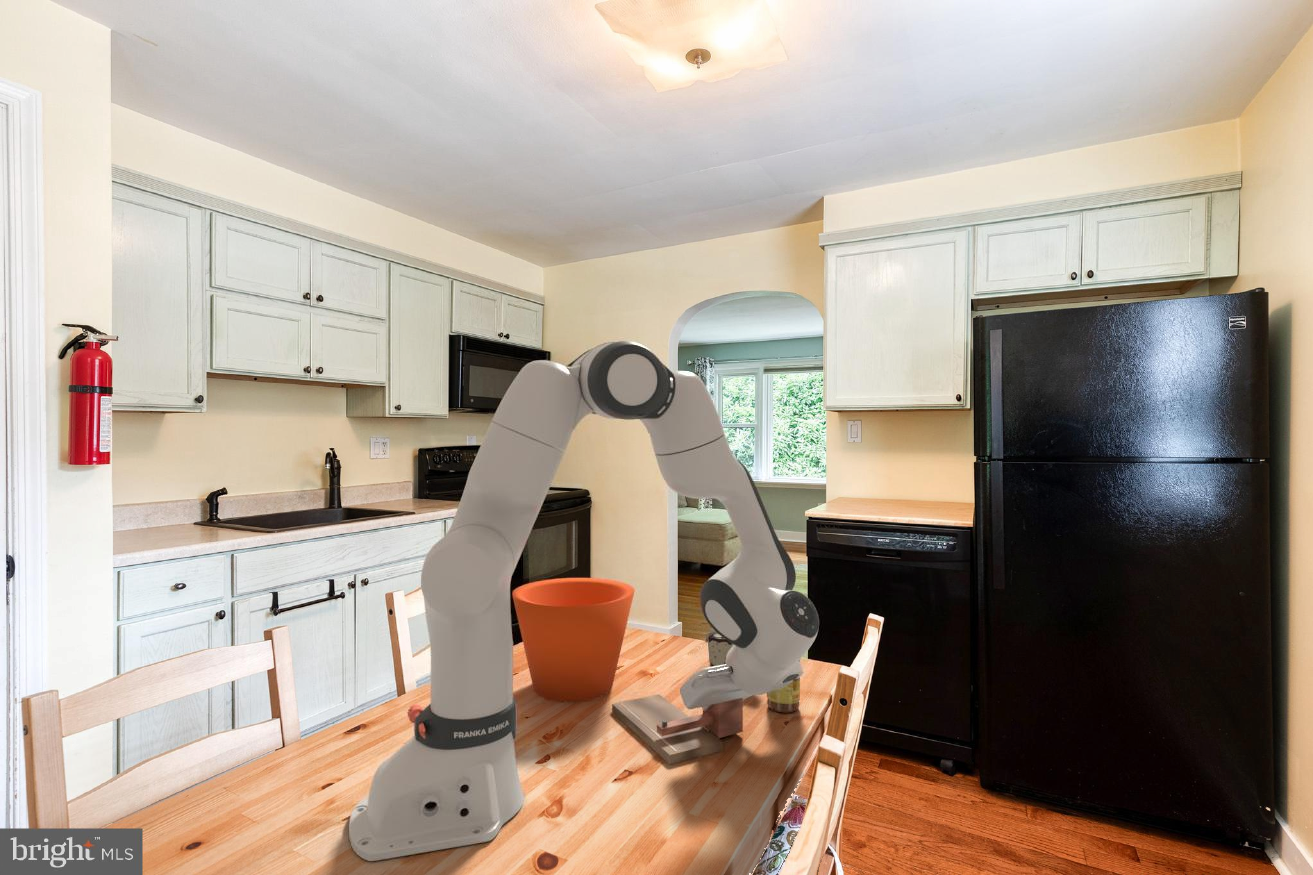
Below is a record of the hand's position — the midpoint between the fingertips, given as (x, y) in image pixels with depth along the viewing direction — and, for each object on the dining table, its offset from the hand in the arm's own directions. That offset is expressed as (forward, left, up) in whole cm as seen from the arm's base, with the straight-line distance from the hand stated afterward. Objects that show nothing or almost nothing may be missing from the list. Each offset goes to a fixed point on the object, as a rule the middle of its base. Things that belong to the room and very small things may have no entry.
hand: (720, 702), depth 112 cm
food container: (+16, +18, -5) cm, 25 cm away
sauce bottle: (+16, +3, -5) cm, 18 cm away
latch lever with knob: (-5, -1, -4) cm, 7 cm away
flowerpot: (-16, +31, -5) cm, 35 cm away
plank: (-9, +5, -5) cm, 11 cm away
